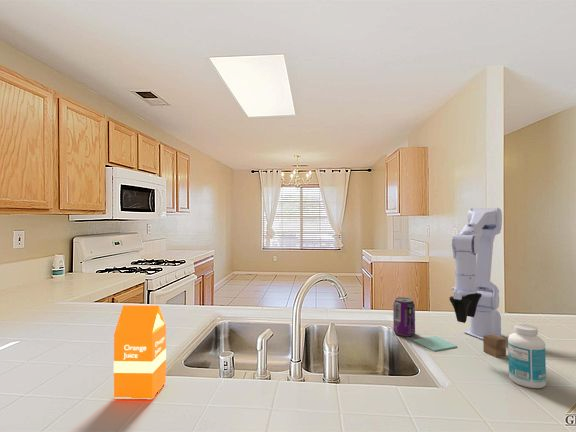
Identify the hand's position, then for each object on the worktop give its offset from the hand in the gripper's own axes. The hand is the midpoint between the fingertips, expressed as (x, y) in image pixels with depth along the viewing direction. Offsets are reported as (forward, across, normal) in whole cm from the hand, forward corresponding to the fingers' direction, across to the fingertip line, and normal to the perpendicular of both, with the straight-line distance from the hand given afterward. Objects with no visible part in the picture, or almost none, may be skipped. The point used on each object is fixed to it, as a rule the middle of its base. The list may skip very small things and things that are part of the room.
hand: (466, 319), depth 100 cm
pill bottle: (+10, +10, +17) cm, 22 cm away
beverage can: (+10, 0, -20) cm, 22 cm away
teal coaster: (+10, +1, -9) cm, 13 cm away
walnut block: (+10, -4, +7) cm, 12 cm away
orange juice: (+9, +80, -45) cm, 92 cm away
